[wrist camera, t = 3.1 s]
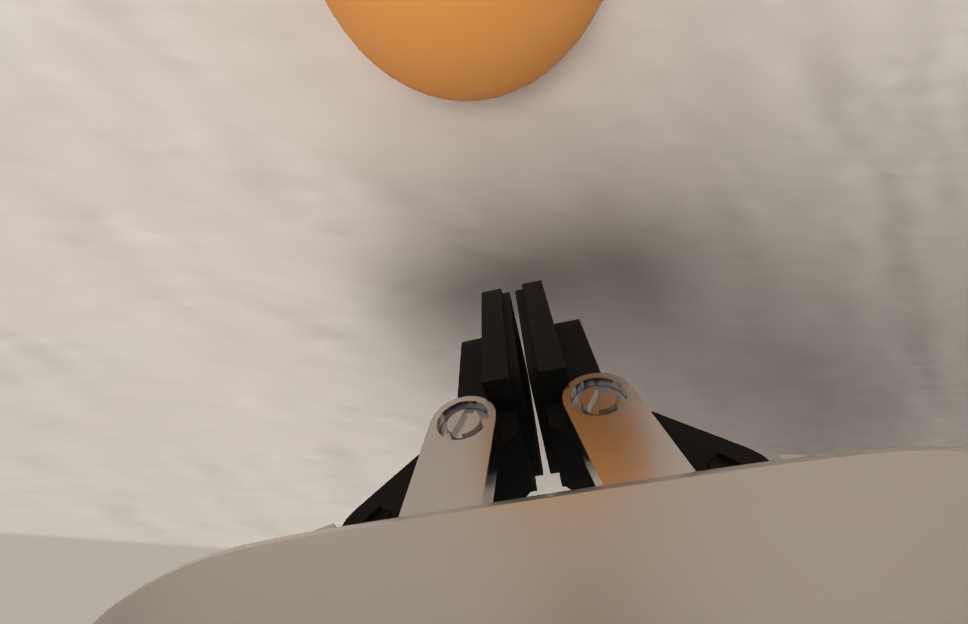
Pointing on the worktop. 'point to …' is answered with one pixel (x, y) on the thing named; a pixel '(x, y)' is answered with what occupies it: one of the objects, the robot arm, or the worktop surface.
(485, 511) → the robot arm
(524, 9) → the brown egg
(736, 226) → the worktop surface
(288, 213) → the worktop surface
